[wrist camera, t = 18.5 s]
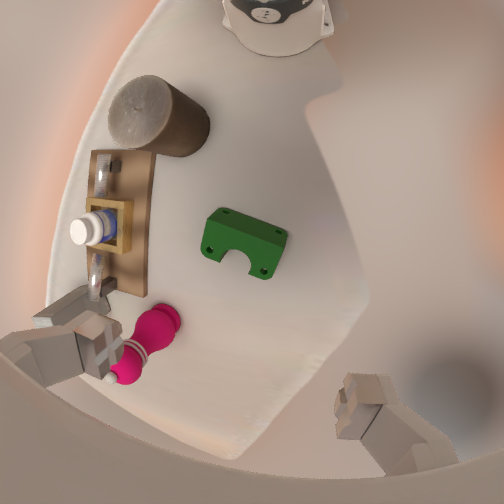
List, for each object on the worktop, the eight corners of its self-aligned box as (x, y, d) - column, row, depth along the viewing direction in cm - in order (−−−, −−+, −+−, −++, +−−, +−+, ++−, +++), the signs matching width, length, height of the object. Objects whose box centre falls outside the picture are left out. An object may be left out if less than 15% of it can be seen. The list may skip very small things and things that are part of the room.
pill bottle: (104, 237, 45) (69, 250, 36) (101, 208, 44) (64, 216, 35) (126, 237, 44) (91, 250, 35) (123, 206, 43) (87, 213, 34)
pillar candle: (221, 117, 39) (184, 86, 24) (188, 168, 41) (138, 162, 27) (176, 93, 39) (127, 62, 24) (146, 141, 41) (88, 129, 27)
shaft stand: (96, 150, 43) (62, 148, 34) (156, 151, 41) (125, 145, 32) (92, 278, 50) (63, 294, 41) (147, 294, 48) (120, 316, 39)
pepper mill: (185, 308, 47) (128, 374, 28) (181, 339, 49) (131, 408, 30) (150, 296, 48) (84, 351, 29) (148, 327, 50) (91, 386, 31)
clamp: (229, 234, 48) (191, 248, 41) (238, 203, 44) (198, 213, 38) (285, 271, 43) (252, 294, 36) (299, 239, 40) (266, 257, 33)
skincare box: (101, 282, 49) (49, 313, 34) (113, 313, 51) (66, 350, 36) (77, 286, 51) (28, 314, 36) (88, 315, 53) (43, 348, 37)
